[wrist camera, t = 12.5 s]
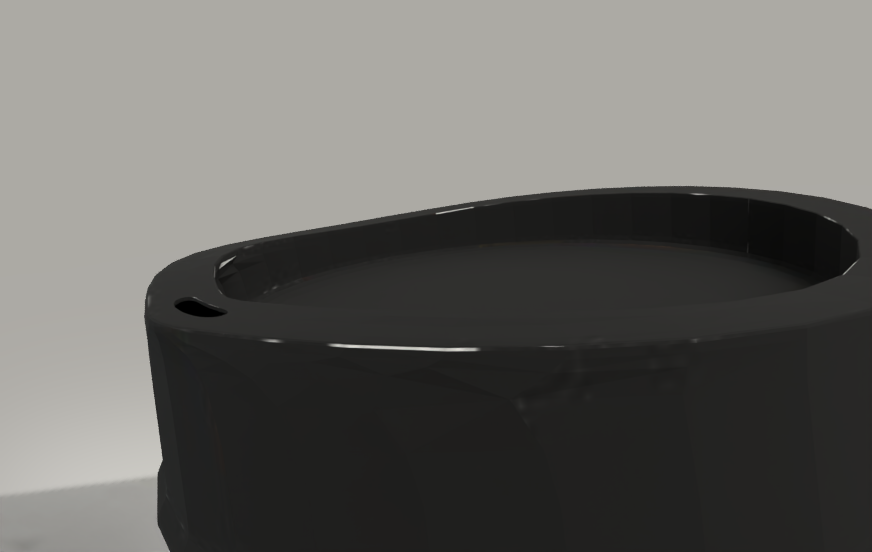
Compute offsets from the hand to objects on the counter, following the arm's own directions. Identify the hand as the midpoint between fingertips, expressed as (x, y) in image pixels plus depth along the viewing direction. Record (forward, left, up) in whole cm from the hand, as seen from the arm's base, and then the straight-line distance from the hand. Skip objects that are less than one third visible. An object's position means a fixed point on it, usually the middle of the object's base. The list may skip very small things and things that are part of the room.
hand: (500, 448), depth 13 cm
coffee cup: (0, -5, -9) cm, 10 cm away
